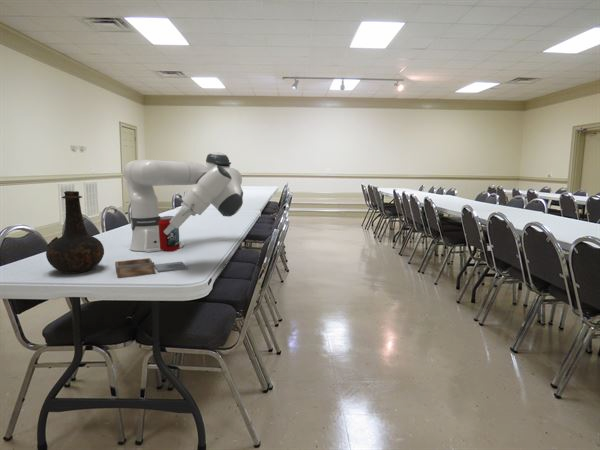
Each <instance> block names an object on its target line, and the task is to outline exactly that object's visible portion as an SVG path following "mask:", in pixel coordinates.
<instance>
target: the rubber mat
mask: <svg viewBox="0 0 600 450" xmlns="http://www.w3.org/2000/svg"><path fill="white" fill-rule="evenodd" d="M154 267H155V271H157V273H163V272H172V271H183V270H188V269H189V268H188V266H187V265H186V264H185V263H184V262H183V261H174V262H166V263H165V262H164V263H154Z"/></svg>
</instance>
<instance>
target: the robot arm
mask: <svg viewBox="0 0 600 450" xmlns="http://www.w3.org/2000/svg"><path fill="white" fill-rule="evenodd" d="M231 165H232V162H230V159H229V157H228V156H227V154H224V153H222V152H220V151H219V152H217V151H216V152H214V151H213V152H211V153H209V154H207V156H206V159H205V164H202V163H199V162H193V161H187V160H186V161H185V160H184V161H183V160H182V161H181V160H180V161H179V160H159V159H135V160H131V161H129V162H128V163H126V164H125V166H124V167H123V170H122V172H123V173H122V174H123V177H124V178H125V181H126V185H127V190H128V194H129V199H130V205H131V207H130V208H131V217H130V227H131V231H132V236H131V243H130V248H129V250H131V251H133V252H146V253H147V252H148V253H152V252H159V251H162V250H161V249H160V239H159V220H160V217H161V216H160V215H159V199H158V197H157V195H156V192H155V190H154V187H155V186H156V187H157V186H192V187H191V188H189V190H188V191H186V193H185V194H184V195H182V197H181V200H182V202H181V204H180V205H181V207H180V208H179V210H178V212H177V213H176V214H175V215H173V216H174V217H173V218H172V219H171V220H170V225H169V226H168V227H167V228H166V229H165V230H164V233H165V234H166V235H168V234H169V233H170V232H171V231H172V230H173V229H174V228H176V229H177V228H179V229H180V227H181V226H182V225H183V224H184V223H185V222H186V221H187V219H189V218H190V217H191V216H193V217H195V216H196V215H199V216H201V215H202V214H203V213H204V212H205V211H206V210H207V209H208V207H210V205H212V206H213V207H214V208H215V209H216V210H217V211H218V212H219V213H220V214H221V215H222V216H223V217H226V218H227V217H233V216H235V215H236V214H237V213H238V212H239V211H240V210H241V208H242V206H243V204H244V203H243V201H244V200H243V196H244V191H243V188H242V186H241V185H242V182H243V178H242V177H243V176H242V174H241V172H240V171H239V170H238V169H235V168H233V167H231ZM193 185H194V186H193ZM179 243H180V248H179V249H181V248H183V247H184V243H183V242H182V241H179Z"/></svg>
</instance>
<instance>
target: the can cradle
mask: <svg viewBox="0 0 600 450" xmlns="http://www.w3.org/2000/svg"><path fill="white" fill-rule="evenodd" d="M114 264H115V272H116V277H117V278H127V277H128V278H129V277H137V276H144V275H151V274H155V273H156V268H155V267H154V265H155V262H154V261H152V258H150V257H148V258H138V259H130V260H129V259H127V260H120V261H119V260H118V261H115V262H114Z"/></svg>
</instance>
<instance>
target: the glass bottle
mask: <svg viewBox="0 0 600 450" xmlns="http://www.w3.org/2000/svg"><path fill="white" fill-rule="evenodd" d="M63 193H64V195H63V196H62V197H61V199H63V200H65V201H64V205H65V222H64V223H65V225H64V229H63V230H64V231H63V233H62V236H60V237H58V236H55V237H54V238H53V239H52V240H50V242H49V243H47V245H46V249H45V250H46V252H45V255H46V260H47V262H48V264H49V265H51V267H52V268H54V269H55V270H57V271H59V272H61V273H65V274H78V273H79V274H80V273H84V272H89V271H91V270H93V269H95V267H97V266H99V264H100V263H101V262H102V259H103V257H104V255H105V249H104V245H103V243H102V241H101V240H99V239H98V238H96V237H94V236H93V235H90V234H89V233H88V231H87V228H86V225H85V223H84V218H83V214H82V213H83V212H82V207H81V199H82V198H83V196H82V195H80V191H78V190H77V191H76V190H73V191H72V190H66V191H63Z"/></svg>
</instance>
